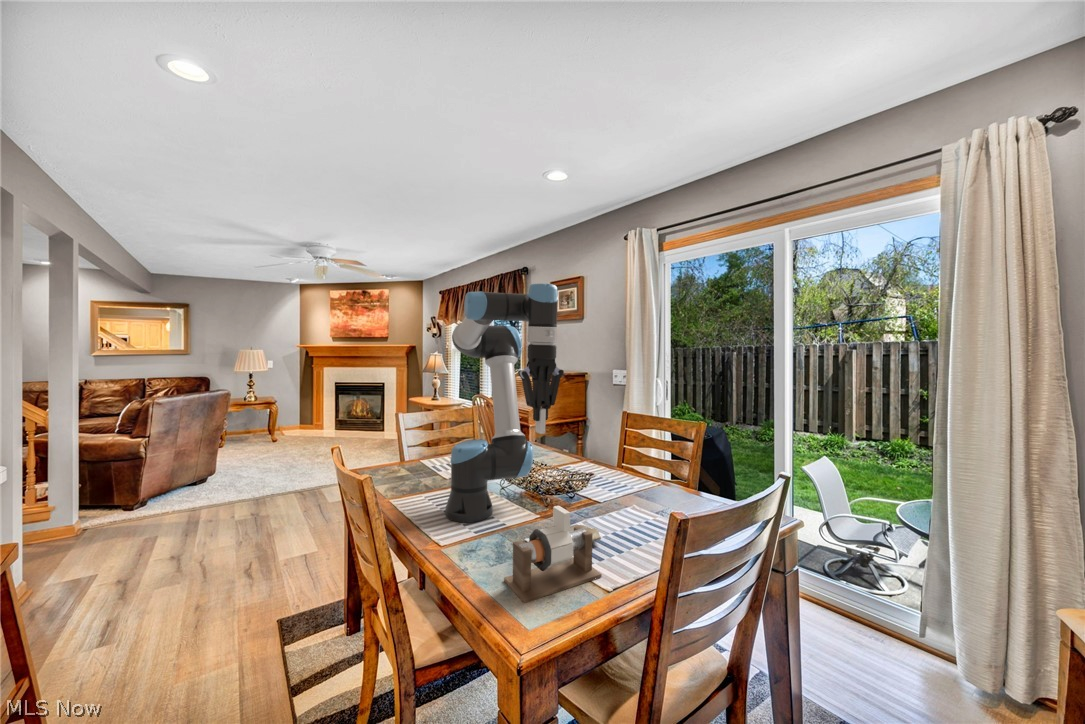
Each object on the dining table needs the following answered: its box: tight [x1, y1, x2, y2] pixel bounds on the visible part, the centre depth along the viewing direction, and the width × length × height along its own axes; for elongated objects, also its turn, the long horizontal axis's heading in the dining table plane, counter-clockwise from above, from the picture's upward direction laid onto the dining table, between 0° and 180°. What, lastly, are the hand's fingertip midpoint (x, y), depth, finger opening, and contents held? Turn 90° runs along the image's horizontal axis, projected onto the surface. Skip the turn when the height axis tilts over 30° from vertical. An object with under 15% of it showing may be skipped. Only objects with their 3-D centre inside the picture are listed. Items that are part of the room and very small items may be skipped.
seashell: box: [569, 524, 602, 543], centre depth 124 cm, size 12×12×3 cm
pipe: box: [519, 528, 586, 564], centre depth 104 cm, size 18×4×4 cm, turn 121°
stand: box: [503, 526, 602, 604], centre depth 104 cm, size 21×10×10 cm, turn 121°
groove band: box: [528, 539, 545, 564], centre depth 102 cm, size 4×5×5 cm
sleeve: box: [535, 505, 574, 568], centre depth 104 cm, size 6×8×12 cm
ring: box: [528, 528, 551, 571], centre depth 102 cm, size 1×9×9 cm, turn 30°
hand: (540, 432), depth 117 cm, fingers closed
